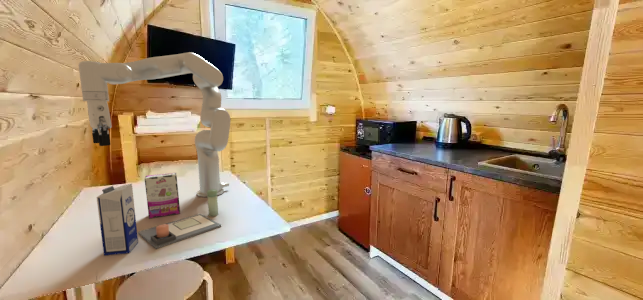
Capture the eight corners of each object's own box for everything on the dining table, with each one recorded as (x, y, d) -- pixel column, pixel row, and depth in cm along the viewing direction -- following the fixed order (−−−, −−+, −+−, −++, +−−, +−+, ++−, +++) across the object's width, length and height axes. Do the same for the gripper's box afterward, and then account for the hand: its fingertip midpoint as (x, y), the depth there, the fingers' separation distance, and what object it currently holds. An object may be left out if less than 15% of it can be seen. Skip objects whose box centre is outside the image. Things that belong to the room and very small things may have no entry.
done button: (166, 231, 97) (165, 223, 96) (171, 234, 94) (170, 226, 94) (154, 235, 94) (154, 226, 94) (159, 238, 92) (158, 229, 91)
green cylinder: (215, 212, 120) (214, 188, 119) (220, 214, 118) (218, 190, 116) (206, 214, 117) (205, 190, 116) (211, 217, 115) (209, 192, 113)
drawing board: (200, 215, 116) (200, 210, 116) (221, 226, 106) (220, 221, 106) (138, 233, 100) (138, 228, 100) (156, 248, 90) (155, 243, 89)
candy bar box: (179, 209, 122) (176, 172, 120) (180, 213, 118) (177, 174, 115) (149, 214, 117) (145, 175, 115) (148, 218, 113) (144, 177, 110)
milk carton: (129, 253, 87) (121, 189, 84) (103, 255, 86) (95, 190, 82) (138, 242, 94) (132, 182, 91) (115, 244, 93) (107, 183, 89)
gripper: (114, 97, 101) (120, 145, 104) (103, 97, 113) (108, 141, 116) (87, 96, 96) (94, 147, 99) (78, 97, 107) (84, 143, 110)
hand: (101, 144), depth 107 cm, fingers open, 9 cm apart
